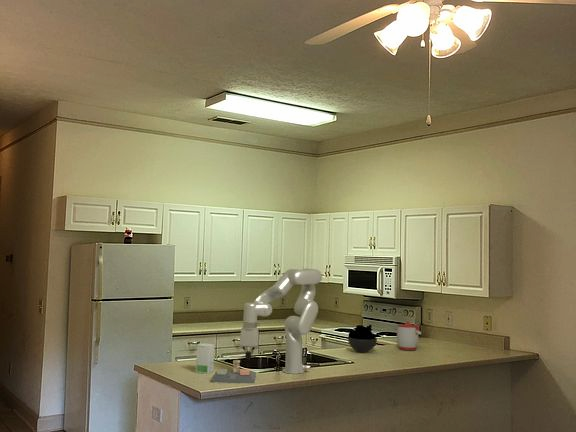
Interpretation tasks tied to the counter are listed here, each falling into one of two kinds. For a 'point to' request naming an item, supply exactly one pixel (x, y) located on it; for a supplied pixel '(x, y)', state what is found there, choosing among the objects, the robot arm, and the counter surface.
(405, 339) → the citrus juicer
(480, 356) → the counter surface
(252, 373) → the switch panel
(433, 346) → the counter surface
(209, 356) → the skincare box
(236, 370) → the birch paddle
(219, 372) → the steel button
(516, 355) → the counter surface
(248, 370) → the terracotta button
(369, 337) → the bowl of black rocks
